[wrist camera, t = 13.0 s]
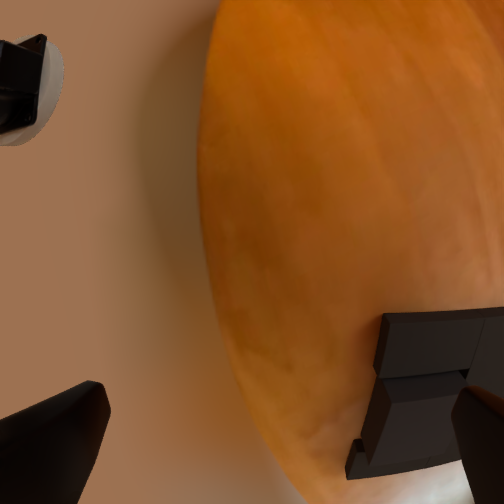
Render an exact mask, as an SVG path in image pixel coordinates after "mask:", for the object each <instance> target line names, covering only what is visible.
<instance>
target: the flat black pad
mask: <svg viewBox="0 0 504 504" xmlns="http://www.w3.org/2000/svg"><path fill="white" fill-rule="evenodd" d="M373 367H374V370H375V372H376V374H377V377H378V378H379V379H381V378H394V377H405V376H415V375H424V374H433V373H440V372H448V371H455V370H458V371H459V373H460V374H461V375H462V376H463V378H464V379H465V380H466V382H467V383H468V384H469V386H472V385H477V386H479V387H481V388H483V389H485V390H487V391H489V392H491V393H493V394H495V395H497V396H499V397H501V398H503V399H504V307H497V308H484V309H472V310H456V311H437V312H413V313H383V317H382V322H381V328H380V334H379V339H378V344H377V349H376V354H375V359H374V363H373ZM457 460H461V456H460V452H459V448H458V444H457V440H456V436H455V433H454V435H453V437H452V439H451V441H450V443H449V445H448V446H447V448H446V450H445V452H444V453H443V454H439V455H435V456H430V457H426V458H421V459H415V460H410V461H404V462H398V463H392V464H385V465H377V466H369V465H368V461H367V457H366V453H365V449H364V445H363V442H362V439H358V440H354V441H353V444H352V447H351V450H350V453H349V457H348V460H347V463H346V466H345V473H346V478H347V480H353V479H363V478H371V477H378V476H385V475H392V474H398V473H404V472H409V471H414V470H419V469H423V468H424V469H425V468H429V467H434V466H438V465H442V464H446V463H450V462H453V461H457Z"/></svg>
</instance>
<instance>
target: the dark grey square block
mask: <svg viewBox="0 0 504 504" xmlns="http://www.w3.org/2000/svg"><path fill="white" fill-rule="evenodd" d="M467 386H469V384H468V383H467V382H466V380H465V379H464V378H463V376H462V375H461V374H460V373H459V371H458V370H455V371H448V372H440V373H433V374H424V375H415V376H405V377H394V378H381V379H379V378H378V377H376V381H375V385H374V389H373V393H372V397H371V401H370V404H369V408H368V411H367V415H366V418H365V422H364V425H363V428H362V432H361V438H362V442H363V445H364V449H365V453H366V457H367V461H368V465H369V466H377V465H385V464H392V463H398V462H404V461H410V460H415V459H421V458H426V457H430V456H435V455H439V454H443V453H444V452H445V450H446V448H447V446H448V445H449V443H450V441H451V439H452V437H453V435H454V433H455V432H454V428H453V425H452V421H451V411H452V409H453V406H454V404H455V402H456V399H457V397H458V395H459V392H460V390H461V389H462V388H463V387H467Z"/></svg>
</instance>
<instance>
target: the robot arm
mask: <svg viewBox="0 0 504 504" xmlns="http://www.w3.org/2000/svg"><path fill="white" fill-rule="evenodd" d="M39 41H40V42H39ZM46 42H47V37H46V36H45V35H43V34H38V35H36V36H34V37H32V38H29V39H27V40H25V41H23V42H21V43H19V44H17V45H16V44H14V43H11V42H8V41H5V40H0V135H3V134H6V133H9V132H12V131H16V130H19V129H22V128H26V127H29V126H32V125H34V124H35V122H36V120H37V113H38V100H39V90H40V81H41V73H42V66H43V60H44V53H45V48H46ZM30 116H31V118H30ZM29 118H30V120H29ZM110 414H111V408H110V404H109V401H108V398H107V394H106V391H105V388H104V386H103V384H101V383H99V382H95V381H85V382H83V383H81V384H79V385H76V386H75V387H72V388H70V389H68V390H66V391H64V392H62V393H59V394H57V395H55V396H53V397H50V398H48V399H46V400H44V401H42V402H39V403H37V404H35V405H33V406H30V407H28V408H26V409H24V410H21V411H19V412H17V413H14V414H12V415H10V416H8V417H5V418H3V419H1V420H0V504H77V503H78V501H79V499H80V496H81V494H82V492H83V489H84V487H85V485H86V482H87V480H88V477H89V476H90V473H91V471H92V469H93V466H94V464H95V461H96V459H97V456H98V452H99V449H100V446H101V443H102V439H103V437H104V433H105V430H106V427H107V424H108V421H109V418H110ZM451 421H452V425H453V428H454V432H455V436H456V440H457V444H458V448H459V452H460V456H461V460H462V464H463V467H464V470H465V473H466V476H467V479H468V482H469V485H470V488H471V492H472V495H473V498H474V501H475V504H504V399H503V398H501V397H499V396H497V395H495V394H493V393H491V392H489V391H487V390H485V389H483V388H481V387H479V386H477V385H472V386H467V387H463V388H462V389H461V390H460V392H459V395H458V397H457V399H456V402H455V404H454V406H453V409H452V411H451Z"/></svg>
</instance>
